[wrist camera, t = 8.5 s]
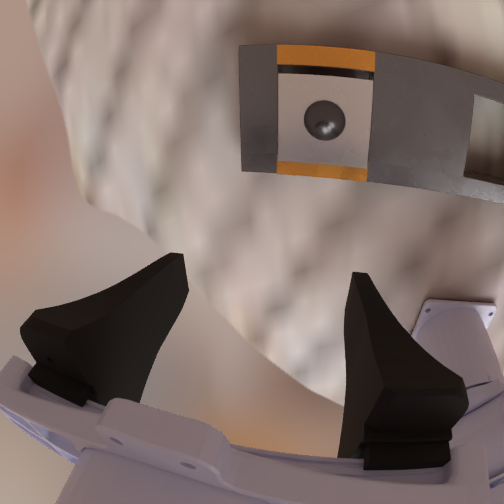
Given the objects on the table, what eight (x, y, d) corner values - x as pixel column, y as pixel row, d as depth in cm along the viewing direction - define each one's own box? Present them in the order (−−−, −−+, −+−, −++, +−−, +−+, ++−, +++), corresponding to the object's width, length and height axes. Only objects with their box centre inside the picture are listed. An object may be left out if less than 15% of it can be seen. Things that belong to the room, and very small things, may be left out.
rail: (527, 201, 17) (540, 213, 15) (248, 162, 21) (240, 172, 20) (544, 103, 13) (561, 108, 11) (246, 48, 17) (237, 45, 15)
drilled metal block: (353, 138, 19) (366, 169, 13) (292, 133, 20) (277, 161, 14) (356, 79, 17) (373, 80, 11) (293, 74, 18) (278, 73, 12)
